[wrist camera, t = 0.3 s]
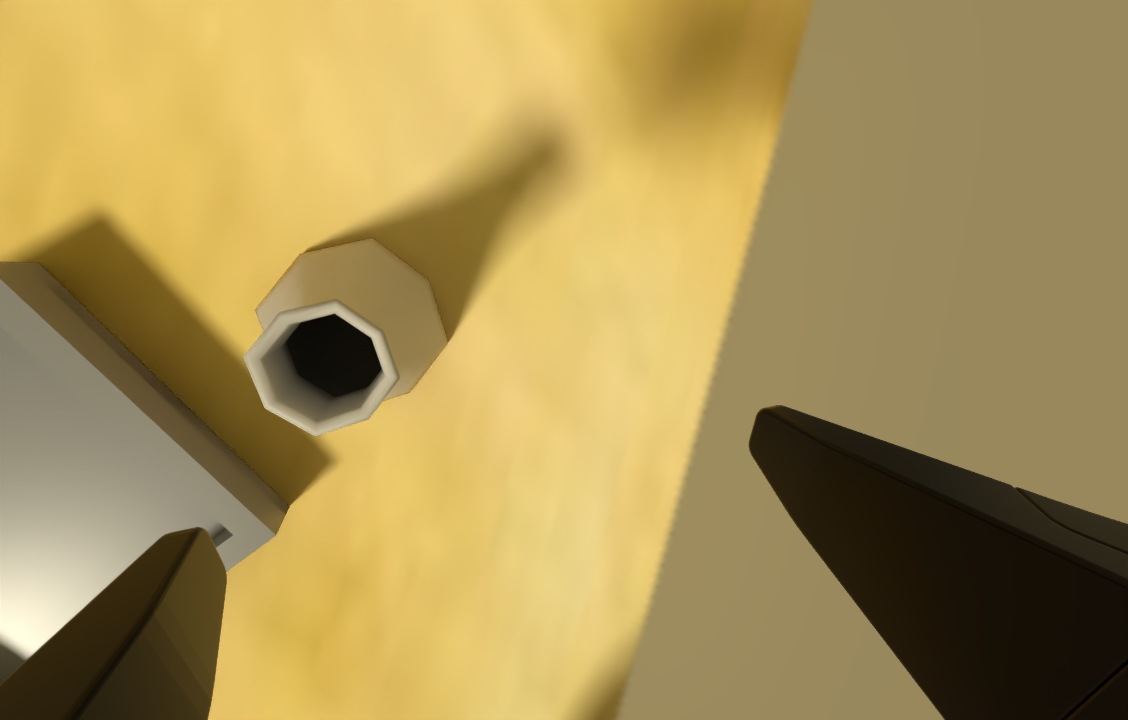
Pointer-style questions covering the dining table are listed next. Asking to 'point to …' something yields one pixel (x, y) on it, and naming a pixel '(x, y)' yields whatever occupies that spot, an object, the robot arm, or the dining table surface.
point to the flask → (343, 336)
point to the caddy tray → (97, 465)
